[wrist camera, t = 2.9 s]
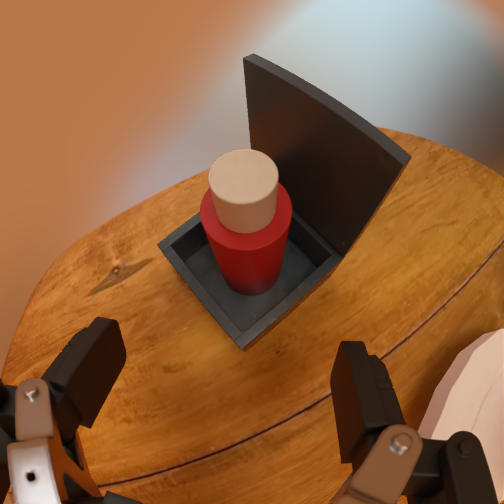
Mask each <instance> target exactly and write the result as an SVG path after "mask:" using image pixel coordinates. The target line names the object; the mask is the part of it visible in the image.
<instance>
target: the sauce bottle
mask: <svg viewBox="0 0 504 504" xmlns="http://www.w3.org/2000/svg"><path fill="white" fill-rule="evenodd" d="M278 178H279V175H278V169H277V167H276V165H275V163H274V162H273V161H272V159H271V158H269V157H268V156H267V155H265V154H264V153H262V152H259V151H256V150H252V149H238V150H233V151H230V152H227V153H225V154H223V155H222V156H220V157H219V158H218V159H217V160H216V161H215V162H214V163H213V165H212V166H211V168H210V171H209V174H208V183H209V187H210V188H209V189H208V191H207V192H206V194H205V195H204V197H203V200H202V203H201V208H200V217H201V222H202V225H203V227H204V230H205V232H206V235H207V238H208V240H209V243H210V245H211V248H212V250H213V253H214V255H215V258H216V260H217V263H218V265H219V268H220V270H221V273H222V275H223V278H224V280H225V282H226V284H227V285H228V286H229V287H230V288H231V289H232V290H233V291H235V292H237V293H239V294H241V295H245V296H257V295H261V294H263V293H265V292H267V291H269V290H270V289H271V288H272V287H273V286H274V285H275V284H276V282H277V280H278V278H279V275H280V271H281V266H282V262H283V257H284V252H285V247H286V243H287V238H288V233H289V228H290V223H291V218H292V203H291V199H290V197H289V195H288V193H287V191H286V190H285V188H284V187H283V186H282V185H281V184H280V183H279V182H278Z"/></svg>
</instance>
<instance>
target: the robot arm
mask: <svg viewBox="0 0 504 504" xmlns="http://www.w3.org/2000/svg"><path fill="white" fill-rule="evenodd" d="M125 362H126V349H125V346H124V342H123V339H122V335H121V331H120V328H119V324H118V322H117V321H116V320H113V319H108V318H103V317H97V318H95V319H94V321H93V322H92V323H91V324H90V326H89V327H88V328H86V327H85V328H84V329H82V330H81V331H79V332H78V333H76V334H75V335H74V336H73V337H72V339H71V340H70V341H69V342H68V345H66V346H65V347H64V349H63V350H62V352H60V354H59V355H58V356H57V357H56V359H55V360H54V361H53V363H52V364H51V365H50V367H49V368H48V369H47V371H46V372H45V373H44V375H43V376H42V377H41V378H30V379H27V380H25V381H23V382H22V383H21V384H20V385H19V386H10V385H4V384H3V382H2V380H1V379H0V504H3V502H4V500H5V497H6V495H7V492H8V490H9V487H10V485H11V489H12V495H13V500H14V504H143V503H141V502H139V501H136V500H133V499H129V498H126V497H123V496H121V495H118V494H115V493H112V492H110V491H107V492H106V494H105V497H102V495H101V493H100V491H99V489H98V487H97V485H96V484H95V482H94V481H93V479H92V477H91V475H90V473H89V470H88V466H87V463H86V459H85V456H84V452H83V448H82V445H81V441H80V436H79V433H78V431H77V429H78V427H79V425H82V426H85V427H87V428H90V429H91V427H92V425H93V423H94V421H95V419H96V417H97V415H98V413H99V411H100V409H101V408H102V406H103V404H104V402H105V400H106V398H107V396H108V394H109V392H110V391H111V389H112V387H113V385H114V383H115V381H116V380H117V378H118V376H119V374H120V372H121V371H122V369H123V367H124V365H125ZM330 385H331V393H332V399H333V405H334V412H335V419H336V426H337V433H338V440H339V448H340V456H341V464H343V463H352V468H353V471H352V473H351V474H350V475H349V477H348V478H347V480H346V481H345V482H344V484H343V485H342V486H341V488H340V489H339V490H338V492H337V493H336V494H335V496H334V497H333V498H332V499H331V501H330V502H329V503H328V504H396V503H397V501H398V499H399V497H400V495H406V496H407V501H408V504H499V503H498V499H497V495H496V491H495V487H494V483H493V480H492V476H491V473H490V469H489V466H488V463H487V460H486V457H485V454H484V451H483V448H482V445H481V442H480V440H479V439H478V438H477V436H475V435H474V434H473V433H471V432H468V431H459V432H456V433H454V434H453V435H452V436H451V437H450V438H449V439H448V440H434V439H425V438H422V437H421V436H420V435H419V433H418V432H417V431H416V430H415V429H413V428H412V427H410V426H407V425H406V423H405V420H404V417H403V414H402V411H401V408H400V405H399V402H398V400H397V397H396V394H395V391H394V388H392V386H393V385H392V383H391V380H390V379H389V374H388V372H387V369H386V366H385V364H384V363H383V362H382V361H381V360H380V359H379V358H378V357H377V356H376V355H368V353H367V350H366V347H365V344H364V342H363V341H341V343H340V345H339V348H338V352H337V355H336V359H335V362H334V365H333V369H332V372H331V380H330Z"/></svg>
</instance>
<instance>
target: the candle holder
mask: <svg viewBox="0 0 504 504" xmlns="http://www.w3.org/2000/svg"><path fill="white" fill-rule="evenodd" d="M459 431H468V432H471V433H473V434H474V435H475V436H477V438H478V439H479V440H480V442H481V445H482V448H483V451H484V454H485V457H486V460H487V463H488V466H489V469H490V473H491V476H492V480H493V483H494V487H495V491H496V495H497V499H498V503H500V502H501V501H502V500H504V329H500V330H496V331H493V332H489V333H485V334H483V335H482V336H480V337H479V338H478V339H477V340H475V341H474V342H473V343H472V344H470V345H469V346H468V347H466V348H465V349H464V350H462V351H461V352H459V353H458V355H457V356H456V358H455V360H454V361H453V363H452V364H451V366H450V368H449V369H448V371H447V372H446V374H445V375H444V377H443V378H442V380H441V381H440V383H439V384H438V386H437V387H436V388H435V391H434V393H433V396H432V398H431V401H430V403H429V406H428V408H427V411H426V413H425V415H424V418H423V420H422V422H421V424H420V427H419V429H418V431H417V432H418V433H419V435H420V436H421V437H422V438H425V439H434V440H448V439H449V438H450V437H451V436H452V435H453V434H454V433H456V432H459Z"/></svg>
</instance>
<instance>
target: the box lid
mask: <svg viewBox="0 0 504 504" xmlns="http://www.w3.org/2000/svg"><path fill="white" fill-rule="evenodd" d="M243 64H244V75H245V86H246V97H247V108H248V119H249V131H250V143H251V149H252V150H256V151H259V152H262V153H264V154H265V155H267V156H268V157H269V158H271V159H272V161H273V162H274V163H275V165H276V167H277V169H278V175H279V178H278V182H279V183H280V184H281V185H282V186H283V187H284V188H285V190H286V191H287V193H288V195H289V197H290V199H291V203H292V206H293V207H294V208H295V209H296V210H297V211H298V212H299V213H300V214H301V215H302V216H303V217H304V218H305V219H307V220H308V221H309V222H310V223H311V224H312V225H313V226H314V227H315V228H316V229H317V230H318V231H319V232H320V233H321V234H322V235H323V236H324V237H325V238H326V239H327V240H328V241H329V242H330V243H331V244H332V245H333V246H334V247H335V248H336V249H337V250H338V251H339V252H340V253H341V254H342V255H343V256H345V255H346V254H347V253H348V252H349V251H350V250H351V249H352V248H353V246H354V245H355V244H356V242H357V241H358V239H359V238H360V236H361V235H362V234H363V232H364V231H365V229H366V228H367V226H368V225H369V223H370V222H371V220H372V219H373V217H374V216H375V214H376V213H377V212H378V210H379V208H380V207H381V205H382V204H383V202H384V201H385V199H386V198H387V196H388V195H389V193H390V192H391V190H392V188H393V187H394V185H395V184H396V182H397V181H398V179H399V177H400V176H401V174H402V172H403V171H404V169H405V168H406V166H407V164H408V163H409V161H410V159H411V156H410V155H409V154H408V153H407V152H406V151H405V150H403V149H402V148H401V147H400V146H399V145H397V144H396V143H395V142H394V141H392V140H391V139H390V138H389V137H387V136H386V135H385V134H384V133H382V132H381V131H380V130H378V129H377V128H376V127H374V126H373V125H372V124H370V123H369V122H368V121H366V120H365V119H364V118H362V117H361V116H359V115H358V114H357V113H355V112H354V111H352V110H351V109H349V108H348V107H346V106H345V105H344V104H342V103H341V102H339V101H337V100H336V99H334V98H333V97H331V96H330V95H328V94H326V93H325V92H323V91H322V90H320V89H318V88H317V87H315V86H314V85H312V84H310V83H308V82H307V81H305V80H303V79H302V78H300V77H298V76H296V75H295V74H293V73H291V72H289V71H287V70H285V69H283V68H281V67H280V66H278V65H275V64H274V63H272V62H270V61H268V60H266V59H264V58H262V57H260V56H258V55H256V54H251V55H249V56H246V57H244V58H243Z"/></svg>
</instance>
